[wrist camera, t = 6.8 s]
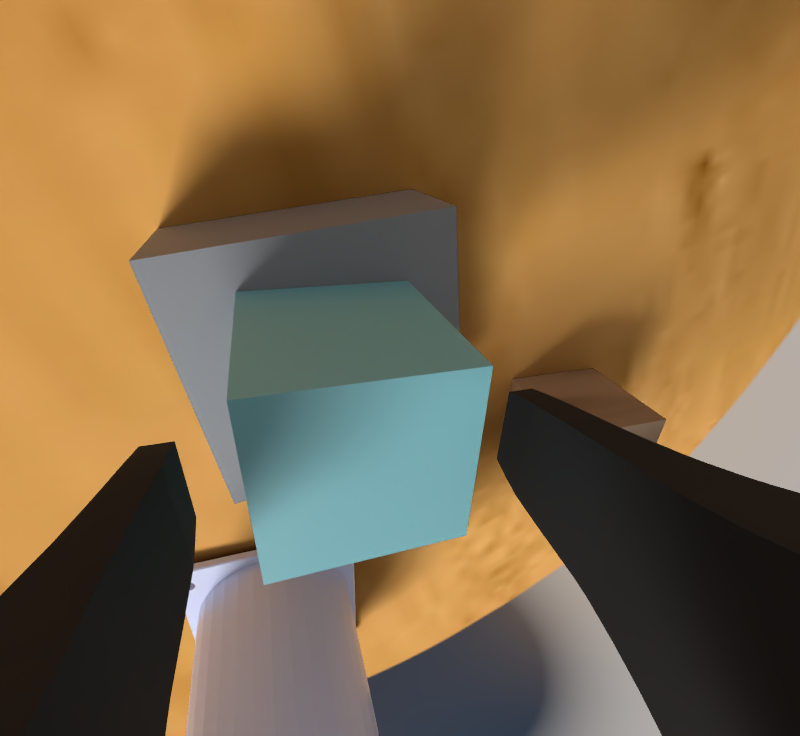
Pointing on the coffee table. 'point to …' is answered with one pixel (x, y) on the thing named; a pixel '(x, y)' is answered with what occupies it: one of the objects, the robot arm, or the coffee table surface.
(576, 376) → the walnut block
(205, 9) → the coffee table surface
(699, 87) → the coffee table surface
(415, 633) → the coffee table surface
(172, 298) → the gray base block
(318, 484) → the teal block
